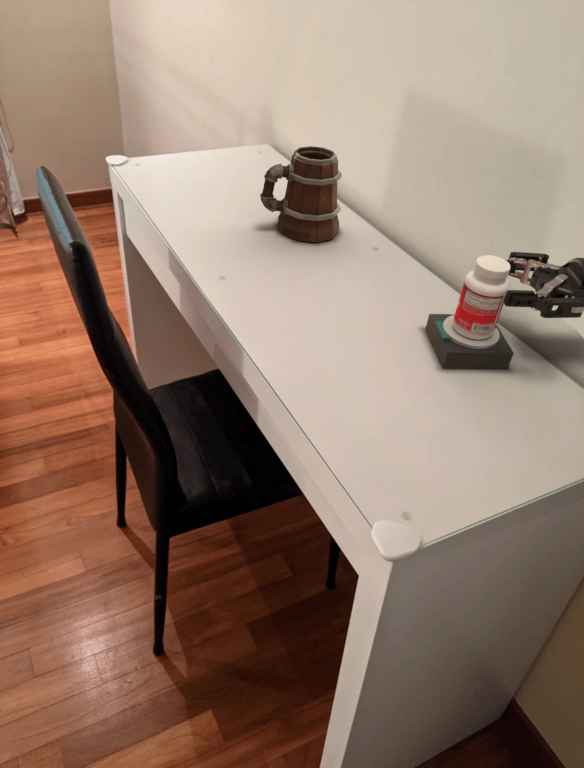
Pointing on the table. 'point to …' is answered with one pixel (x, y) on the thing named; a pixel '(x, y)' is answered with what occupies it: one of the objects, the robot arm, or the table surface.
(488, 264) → the pill bottle
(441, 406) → the table surface
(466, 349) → the scale
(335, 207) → the mug
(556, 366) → the table surface
